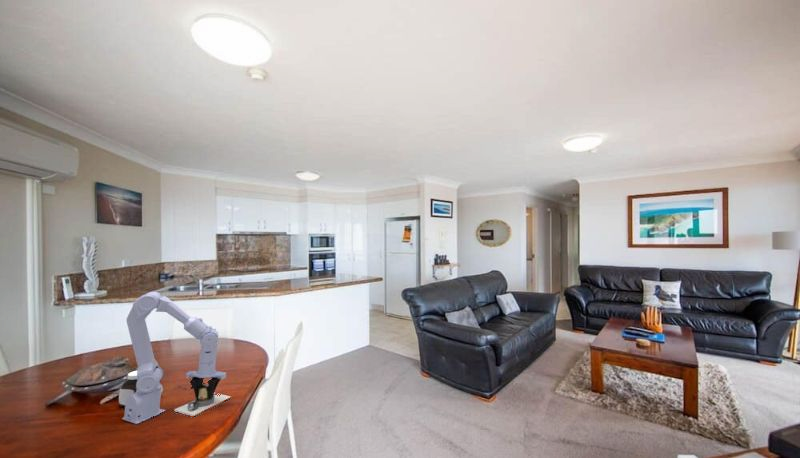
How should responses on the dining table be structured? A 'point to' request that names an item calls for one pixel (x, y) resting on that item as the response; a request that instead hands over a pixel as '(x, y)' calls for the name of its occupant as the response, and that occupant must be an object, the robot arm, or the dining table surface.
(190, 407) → the steel shaft
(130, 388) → the spread jar
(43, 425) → the dining table surface
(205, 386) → the cylinder
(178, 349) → the dining table surface
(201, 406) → the base plate
